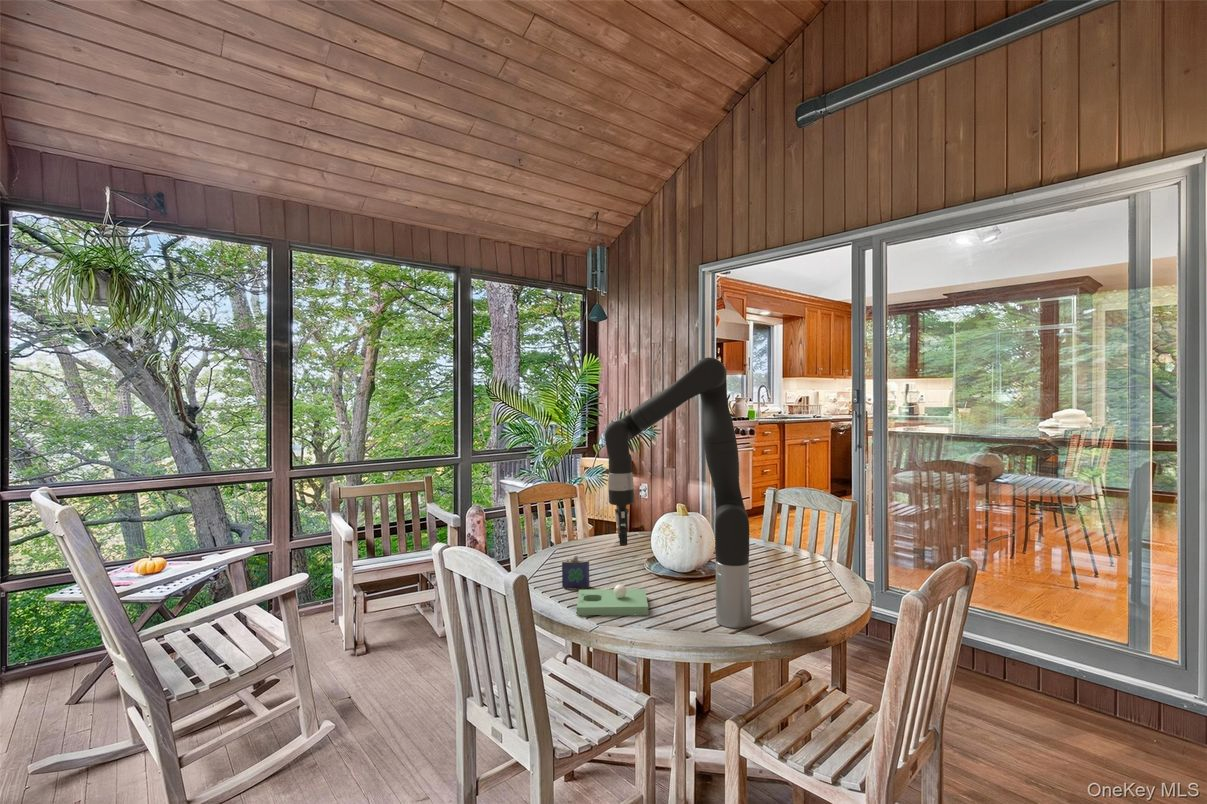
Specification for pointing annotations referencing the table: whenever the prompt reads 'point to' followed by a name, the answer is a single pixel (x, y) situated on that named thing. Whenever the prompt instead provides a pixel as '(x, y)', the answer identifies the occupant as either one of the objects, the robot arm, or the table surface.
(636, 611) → the board
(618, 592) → the ball
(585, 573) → the flask
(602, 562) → the table surface
